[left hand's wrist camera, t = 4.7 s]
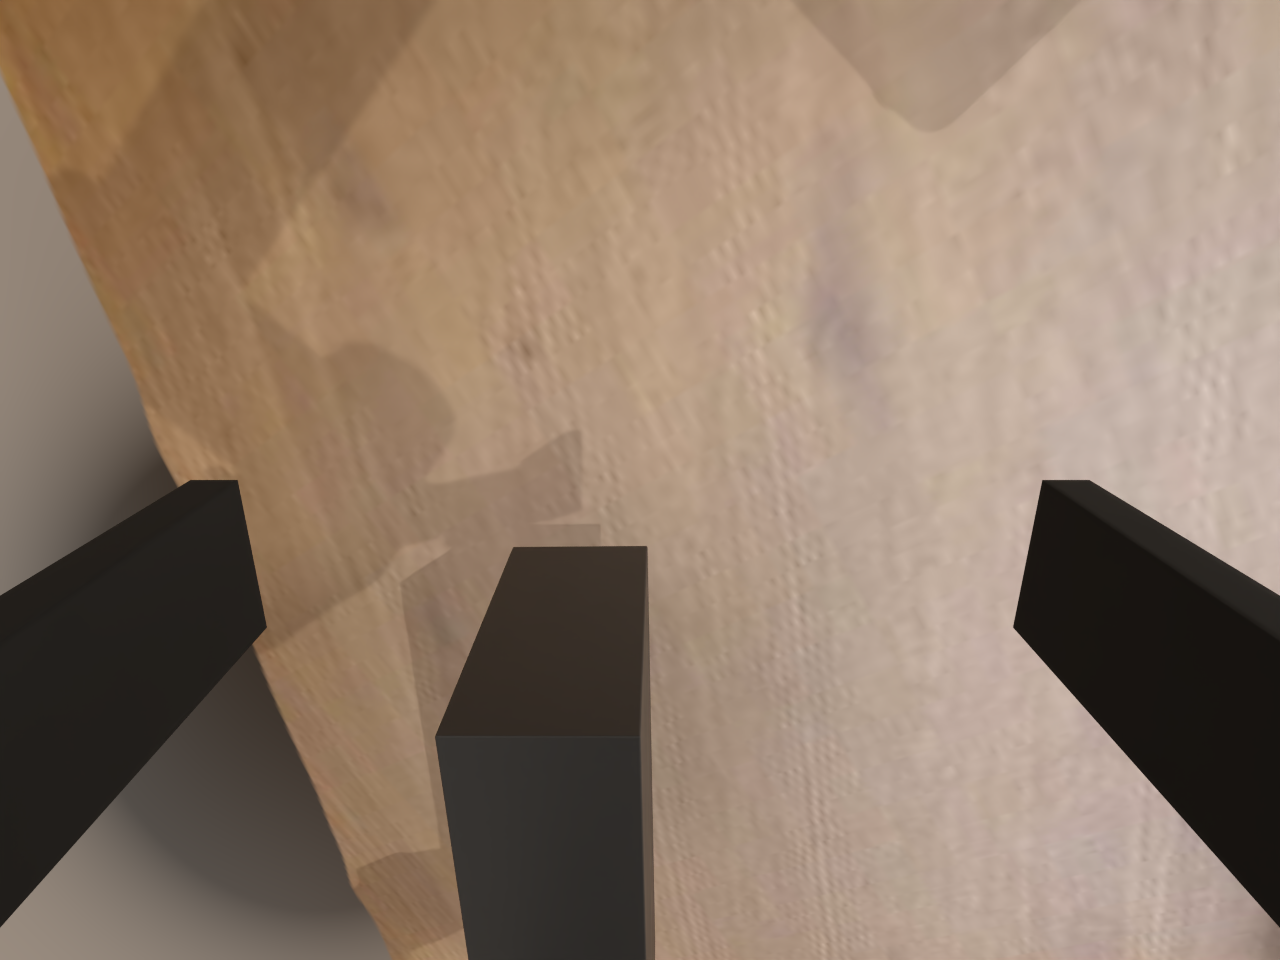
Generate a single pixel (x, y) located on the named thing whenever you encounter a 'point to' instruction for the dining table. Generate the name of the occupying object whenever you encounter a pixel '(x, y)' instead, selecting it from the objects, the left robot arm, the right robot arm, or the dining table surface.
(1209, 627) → the left robot arm
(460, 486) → the dining table surface
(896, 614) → the dining table surface
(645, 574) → the box
